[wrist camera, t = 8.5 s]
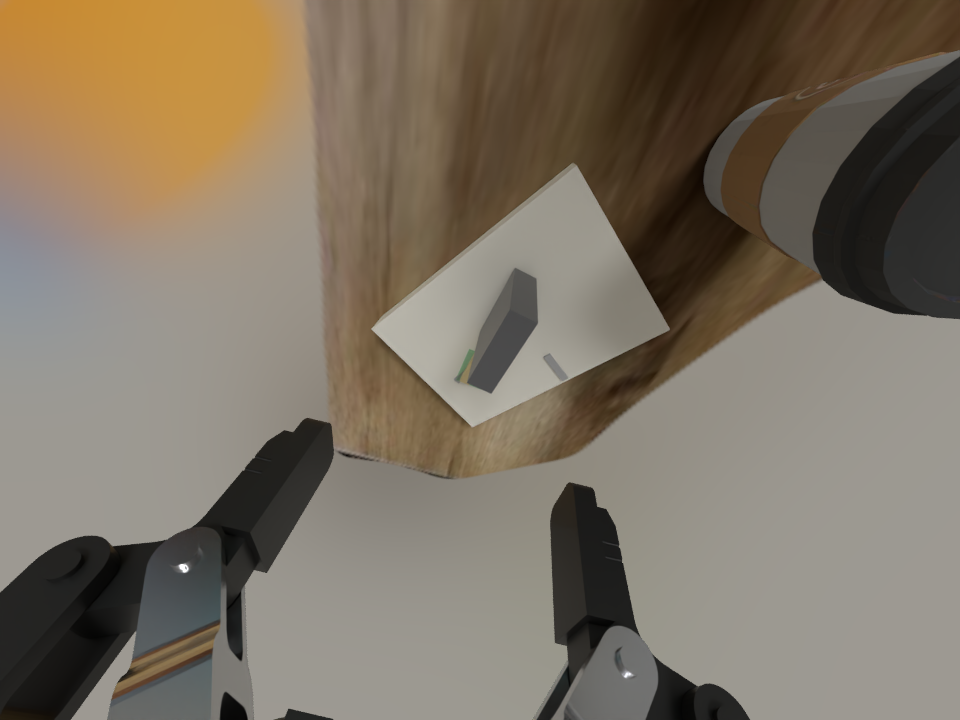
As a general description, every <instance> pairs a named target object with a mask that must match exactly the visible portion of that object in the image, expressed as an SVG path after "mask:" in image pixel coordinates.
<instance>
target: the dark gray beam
mask: <svg viewBox="0 0 960 720" xmlns="http://www.w3.org/2000/svg"><path fill="white" fill-rule="evenodd" d="M537 324H538V308H537V279H536V278H534V277H532V276H530V275H528V274H527V273H525V272H523V271H521V270H519V269H517V268H514V270H513V272H512V274H511V275H510V277H509V279H508V281H507V283H506V285H505V286H504V288H503V290H502V292H501V294H500V296H499V297H498V299H497V301H496V303H495V305H494V306H493V308H492V310H491V312H490V314H489V316H488V317H487V319H486V321H485V323H484V325H483V327H482V328H481V330H480V333H479V337H478V341H477V345H476V349H475V352H474V354H473V356H472V358H471V359H470V361H469V363H468V365H467V367H466V368H465V370H464V372H463V374H462V376H461V378H460V382H462V383H465V384H467V385H469V384H470V385H473V386H475V387H477V388H479V389H481V390H484V391H486V392H488V393H490V394H492V392H493V391H494V389H495V388H496V386H497V385H498V383H499V382H500V380H501V379H502V377H503V376H504V374H505V373H506V371H507V370H508V368H509V367H510V365H511V363H512V362H513V360H514V359H515V357H516V356H517V354H518V353H519V351H520V350H521V348H522V347H523V345H524V344H525V342H526V341H527V339H528V338H529V336H530V335H531V333H532V332H533V330H534V329H535V327H536V326H537Z"/></svg>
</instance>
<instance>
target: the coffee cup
mask: <svg viewBox="0 0 960 720" xmlns="http://www.w3.org/2000/svg"><path fill="white" fill-rule="evenodd" d="M703 183H704V188H705V193H706V196H707V197H708V199H709V201H710V203H711V204H712V205H713V206H714V207H715V208H717V209H718V210H719V211H720V212H722V213H724V214H725V215H727V216H728V217H730V218H731V219H732V220H733V221H734V222H735V223H737V224H738V225H739V226H741V227H742V228H744V229H746V230H747V231H749V232H750V233H752V234H753V235H755V236H756V237H758V238H759V239H761V240H763V241H764V242H766V243H767V244H769V245H770V246H772V247H773V248H775V249H776V250H778V251H780V252H781V253H783V254H784V255H786V256H788V257H790V258H793V259H795V260H798V261H800V262H801V263H803V264H804V265H806V266H807V267H809V268H811V269H812V270H814V271H815V272H817V273H819V274H820V275H821V276H822V279H823V280H824V281H825V282H826V283H827V284H828V285H830V286H831V287H832V288H833V289H835V290H836V291H837V292H838V293H839V294H840V295H843V296H846V297H848V298H851V299H854V300H857V301H860V302H863V303H865V304H868V305H871V306H874V307H877V308H880V309H883V310H885V311H888V312H891V313H895V314H909V315H910V314H911V315H924V316H927V315H928V316H931V317H937V318H953V319H960V50H959V51H955V52H951V53H943V52H939V53H935V54H932V55H928V56H924V57H921V58H917V59H913V60H909V61H906V62H902V63H898V64H895V65H891V66H887V67H883V68H880V69H876V70H872V71H869V72H865V73H861V74H857V75H854V76H850V77H846V78H843V79H839V80H835V81H831V82H828V83H824V84H820V85H816V86H813V87H809V88H805V89H802V90H798V91H794V92H791V93H789V94H787V95H786V96H782V97H778V98H775V99H771V100H767V101H763V102H761V103H759V104H757V105H756V106H754V107H752V108H750V109H748V110H746V111H745V112H744V113H742V114H741V115H740V116H739V117H737V118H736V119H735V120H734V121H732V122H731V123H730V125H729V126H728V127H727V128H726V129H725V130H724V132H723V133H722V134H721V135H720V136H719V138H718V139H717V141H716V143H715V144H714V146H713V148H712V149H711V151H710V153H709V156H708V159H707V162H706V165H705V170H704V180H703Z"/></svg>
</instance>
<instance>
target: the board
mask: <svg viewBox="0 0 960 720" xmlns="http://www.w3.org/2000/svg"><path fill="white" fill-rule="evenodd" d="M514 268H517V269H519V270H521V271H523V272H525V273H527V274H528V275H530V276H532V277H534V278H536V279H537V308H538V324H537V326H536V327H535V329H534V330H533V332H532V333H531V335H530V336H529V338H528V339H527V341H526V342H525V344H524V345H523V347H522V348H521V350H520V351H519V353H518V354H517V356H516V357H515V359H514V360H513V362H512V363H511V365H510V367H509V368H508V370H507V371H506V373H505V374H504V376H503V377H502V379H501V380H500V382H499V383H498V385H497V386H496V388H495V389H494V391H493V392H492V394H490V393H488V392H486V391H484V390H481V389H479V388H477V387H475V386H473V385H470V384H469V385H467V384H465V383H462V382H460V378H461V376H462V374H463V372H464V370H465V368H466V367H467V365H468V363H469V361H470V359H471V358H472V356H473V354H474V352H475V349H476V345H477V341H478V337H479V333H480V330H481V328H482V327H483V325H484V323H485V321H486V319H487V317H488V316H489V314H490V312H491V310H492V308H493V306H494V305H495V303H496V301H497V299H498V297H499V296H500V294H501V292H502V290H503V288H504V286H505V285H506V283H507V281H508V279H509V277H510V275H511V274H512V272H513V270H514ZM372 330H373V331H374V332H375V333H376V334H377V335H378V336H379V337H380V338H381V339H382V340H383V341H384V342H385V343H386V344H387V345H388V346H389V347H390V348H391V349H392V350H393V351H394V352H395V353H396V354H397V355H399V356H400V357H401V358H402V359H403V360H404V361H405V362H406V363H407V364H408V365H409V366H410V367H411V368H412V369H413V370H414V371H415V372H416V373H417V374H418V375H419V376H420V377H421V378H422V379H423V380H424V381H425V382H426V383H427V384H428V385H429V386H430V387H431V388H432V389H434V390H435V391H436V392H437V393H438V394H439V395H440V396H441V397H442V398H443V399H444V400H445V401H446V402H447V403H448V404H449V405H450V406H451V407H452V408H453V409H454V410H455V411H456V412H457V413H458V414H459V415H460V416H461V417H462V418H463V419H464V420H465V421H466V422H467V423H468V424H470V425H471V426H472V427H474V426H476V425H478V424H480V423H482V422H484V421H486V420H488V419H490V418H492V417H494V416H496V415H498V414H501V413H503V412H505V411H507V410H509V409H511V408H513V407H515V406H517V405H519V404H521V403H523V402H525V401H527V400H529V399H531V398H533V397H535V396H537V395H539V394H541V393H543V392H545V391H547V390H549V389H551V388H553V387H555V386H557V385H559V384H561V383H563V382H565V381H567V380H569V379H571V378H573V377H575V376H577V375H579V374H582V373H584V372H586V371H588V370H590V369H592V368H594V367H596V366H598V365H600V364H602V363H604V362H606V361H608V360H610V359H612V358H614V357H616V356H618V355H620V354H622V353H624V352H626V351H628V350H630V349H632V348H634V347H636V346H638V345H640V344H642V343H644V342H646V341H648V340H650V339H652V338H654V337H656V336H658V335H660V334H663V333H665V332H667V331H669V330H670V328H669V326H668V325H667V323H666V321H665V319H664V318H663V316H662V314H661V312H660V311H659V309H658V307H657V305H656V304H655V302H654V300H653V298H652V297H651V295H650V293H649V291H648V290H647V288H646V286H645V284H644V283H643V281H642V279H641V277H640V276H639V274H638V272H637V270H636V269H635V267H634V265H633V263H632V261H631V260H630V258H629V256H628V254H627V253H626V251H625V249H624V247H623V246H622V244H621V242H620V240H619V239H618V237H617V235H616V233H615V232H614V230H613V228H612V226H611V225H610V223H609V221H608V219H607V218H606V216H605V214H604V212H603V211H602V209H601V207H600V205H599V204H598V202H597V200H596V198H595V197H594V195H593V193H592V191H591V190H590V188H589V186H588V184H587V183H586V181H585V179H584V177H583V175H582V174H581V172H580V170H579V168H578V167H577V165H575V164H574V163H571V164H570V165H569V166H568V167H566V168H565V169H564V170H563V171H561V172H560V173H559V174H558V175H556V176H555V177H554V178H553V179H552V180H550V181H549V182H548V183H547V184H545V185H544V186H543V187H542V188H540V189H539V190H538V191H537V192H535V193H534V194H533V195H532V196H530V197H529V198H528V199H527V200H525V201H524V202H523V203H522V204H520V205H519V206H518V207H517V208H516V209H514V210H513V211H512V212H511V213H509V214H508V215H507V216H506V217H504V218H503V219H502V220H501V221H499V222H498V223H497V224H496V225H494V226H493V227H492V228H491V229H489V230H488V231H487V232H486V233H484V234H483V235H482V236H481V237H479V238H478V239H477V240H476V241H475V242H473V243H472V244H471V245H470V246H468V247H467V248H466V249H465V250H463V251H462V252H461V253H460V254H458V255H457V256H456V257H455V258H453V259H452V260H451V261H450V262H448V263H447V264H446V265H445V266H443V267H442V268H441V269H440V270H439V271H437V272H436V273H435V274H434V275H432V276H431V277H430V278H429V279H427V280H426V281H425V282H424V283H422V284H421V285H420V286H419V287H417V288H416V289H415V290H414V291H412V292H411V293H410V294H409V295H407V296H406V297H405V298H404V299H403V300H401V301H400V302H399V303H398V304H396V305H395V306H394V307H393V308H391V309H390V310H389V311H388V312H386V313H385V314H384V315H383V316H382V317H381V318H380V319H379V320H378V322H377V323H376V324H375V325H374V326H373V328H372Z"/></svg>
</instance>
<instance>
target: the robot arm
mask: <svg viewBox="0 0 960 720" xmlns="http://www.w3.org/2000/svg"><path fill="white" fill-rule="evenodd" d="M333 455H334V448H333V437H332V426H331V424H330V423H327V422H323V421H318V420H314V419H310V418H306V419H304V420H303V421H302V422H301V423H300V425H299V426H298V427H297V428H296V430H295V431H294V432H289V431H285V430H284V431H283V432H281V433H280V434H278V435H276V436H275V437H273V438H272V439H270V440H269V441H267V442H266V444H265V445H264V446H263V447H262V448H261V450H260V451H259V452H258V453H257V454H256V456H255V458H254V459H252V460H251V461H250V463H249V464H248V465H247V466H246V468H245V470H244V471H242V472H241V473H240V475H239V476H238V477H237V478H236V479H235V481H234V482H233V483H232V484H231V485H230V487H229V488H228V489H227V490H226V491H225V492H224V494H223V495H222V496H221V497H220V498H219V500H218V501H217V502H216V503H215V504H214V505H213V507H212V508H211V509H210V510H209V511H208V513H207V514H206V515H205V516H204V517H203V518H202V519H201V520H200V521H199V522H198V523H197V524H196V525H194V526H193V527H192V528H190V529H186V530H184V531H181V532H179V533H177V534H175V535H173V536H172V537H170V538H169V539H167V540H164V541H158V542H152V543H141V544H131V545H121V546H111V545H110V543H109V542H108V541H107V540H105V539H104V538H102V537H98V536H83V537H79V538H75V539H72V540H68V541H66V542H63V543H61V544H59V545H57V546H55V547H53V548H52V549H50V550H48V551H47V552H45V553H44V554H43V555H41V556H40V557H38V558H37V559H36V560H35V561H34V562H33V563H32V564H31V565H29V566H28V567H27V568H26V569H25V570H24V571H23V572H22V573H21V574H20V575H19V576H18V577H17V578H15V580H13V581H12V582H11V583H10V584H9V585H8V586H7V587H6V588H5V589H4V590H3V591H1V592H0V720H71V719H72V717H73V716H74V714H75V713H76V712H77V710H78V709H79V708H80V706H81V705H82V703H83V702H84V701H85V699H86V698H87V697H88V695H89V694H90V692H91V691H92V690H93V688H94V687H95V686H96V684H97V683H98V681H99V680H100V679H101V677H102V676H103V675H104V673H105V672H106V670H107V669H108V668H109V666H110V665H111V664H112V662H113V661H114V659H115V658H116V657H117V655H118V654H119V653H120V651H121V650H122V648H123V647H124V646H125V644H126V643H127V642H128V640H129V639H130V638H131V636H132V635H133V634H134V632H135V631H136V638H135V645H134V651H133V658H132V662H131V666H130V668H129V670H128V672H127V673H126V674H125V675H124V676H122V677H121V678H120V680H119V681H118V683H117V685H116V687H115V690H114V692H113V695H112V699H111V703H110V708H109V713H108V719H107V720H254V712H253V692H252V683H251V676H250V672H249V668H248V660H247V639H246V612H245V611H246V608H245V584H246V582H247V580H248V579H249V577H250V576H251V574H252V572H253V570H257V571H261V572H265V573H267V571H268V570H269V568H270V567H271V565H272V563H273V562H274V560H275V558H276V557H277V555H278V553H279V552H280V550H281V548H282V547H283V545H284V543H285V542H286V540H287V538H288V537H289V535H290V533H291V532H292V530H293V528H294V526H295V525H296V523H297V521H298V520H299V518H300V516H301V515H302V513H303V511H304V510H305V508H306V506H307V505H308V503H309V501H310V500H311V498H312V496H313V495H314V493H315V491H316V490H317V488H318V486H319V484H320V483H321V481H322V480H323V478H324V476H325V474H326V473H327V471H328V469H329V467H330V465H331V462H332V459H333ZM550 529H551V555H552V578H553V605H554V629H555V643H557V644H561V645H566V646H567V650H568V661H567V662H566V664H565V665H564V667H563V669H562V670H561V672H560V674H559V675H558V677H557V679H556V680H555V682H554V684H553V686H552V687H551V689H550V691H549V692H548V694H547V696H546V698H545V699H544V701H543V703H542V704H541V706H540V708H539V709H538V711H537V713H536V715H535V716H534V718H533V720H750V719H749V717H748V716H747V714H746V712H745V711H744V710H743V708H742V706H741V705H740V704H739V703H738V702H737V701H736V699H735V698H734V697H733V696H731V695H730V694H729V693H728V692H727V691H725V690H724V689H723V688H721V687H719V686H716V685H714V684H704V685H702V686H699V687H698V686H696V685H694V684H693V683H692V682H690V681H688V680H687V679H685V678H684V677H682V676H681V675H679V674H678V673H676V672H675V671H673V670H671V669H670V668H669V667H667V666H665V665H664V664H663V663H661V662H660V661H659V660H658V659H657V658H656V657H655V656H654V655H653V654H652V653H651V651H650V650H649V648H648V646H647V645H646V643H645V642H644V641H643V640H642V638H641V637H640V635H639V633H638V630H637V627H636V624H635V620H634V615H633V611H632V605H631V600H630V596H629V591H628V585H627V581H626V575H625V571H624V566H623V563H622V556H621V551H620V548H619V541H618V536H617V531H616V526H615V524H614V522H613V521H612V519H611V517H610V515H609V513H608V512H607V510H606V509H604V508H600V507H597V503H596V498H595V492H594V490H593V488H591V487H587V486H583V485H579V484H574V483H568V484H567V485H566V487H565V488H564V490H563V492H562V494H561V495H560V497H559V498H558V500H557V502H556V503H555V505H554V507H553V509H552V514H551V520H550ZM275 720H333V719H331V718H326V717H322V716H317V715H313V714H309V713H305V712H301V711H296V710H292V709H288V711H287V714H286V716H285V717H284V718H278V719H275Z"/></svg>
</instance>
